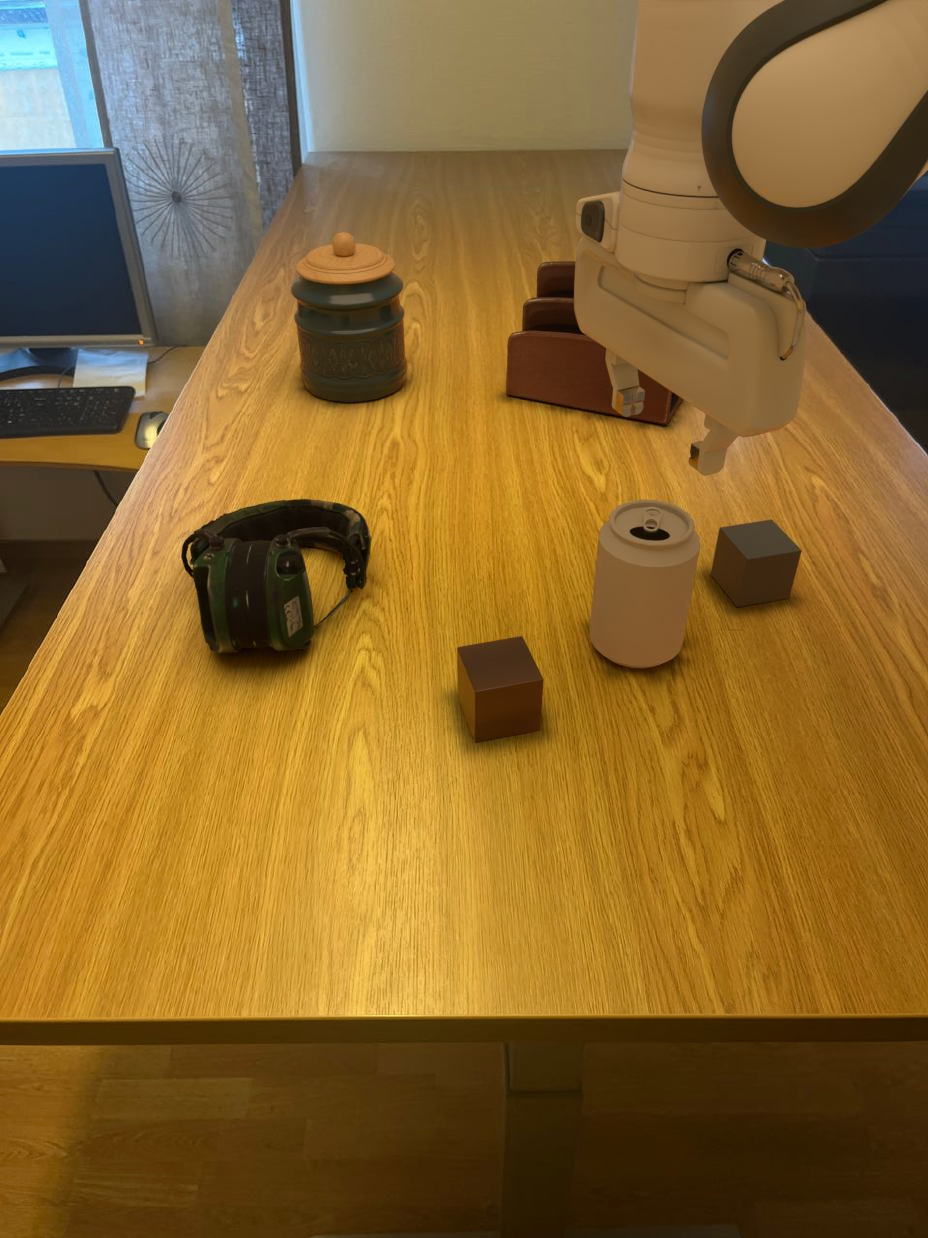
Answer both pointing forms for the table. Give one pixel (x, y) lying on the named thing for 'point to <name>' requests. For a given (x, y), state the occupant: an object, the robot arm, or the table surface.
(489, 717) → the walnut block
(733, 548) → the slate block
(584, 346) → the letter holder
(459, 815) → the table surface
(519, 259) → the table surface
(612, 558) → the can
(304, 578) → the headphones
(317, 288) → the canister
